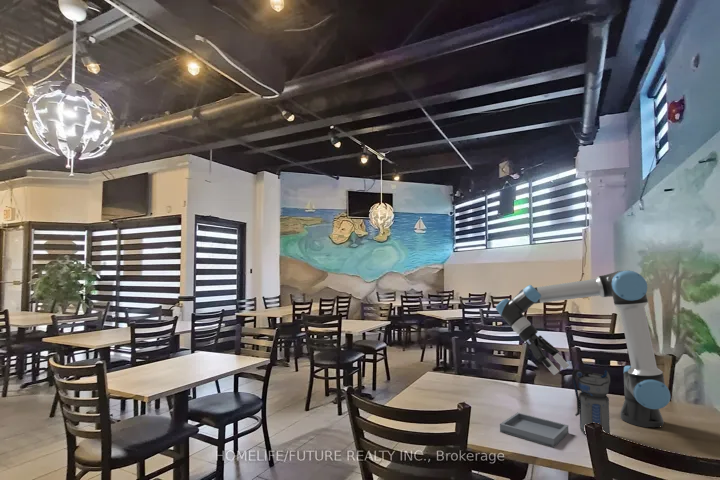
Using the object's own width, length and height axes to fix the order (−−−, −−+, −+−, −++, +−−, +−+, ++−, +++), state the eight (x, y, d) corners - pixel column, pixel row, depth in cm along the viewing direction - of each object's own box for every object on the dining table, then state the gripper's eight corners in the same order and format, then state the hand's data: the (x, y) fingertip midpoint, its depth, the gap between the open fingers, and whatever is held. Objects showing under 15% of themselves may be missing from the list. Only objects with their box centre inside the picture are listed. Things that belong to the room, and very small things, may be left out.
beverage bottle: (571, 426, 165) (570, 364, 166) (608, 431, 160) (606, 367, 162) (575, 436, 155) (573, 370, 157) (614, 441, 150) (612, 373, 152)
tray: (568, 433, 158) (568, 425, 158) (553, 447, 145) (553, 439, 145) (517, 419, 171) (517, 412, 172) (500, 431, 158) (499, 423, 158)
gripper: (529, 332, 188) (564, 370, 177) (507, 338, 170) (545, 381, 159) (540, 321, 185) (577, 360, 174) (519, 326, 167) (559, 370, 156)
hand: (562, 370), depth 166 cm, fingers open, 13 cm apart
